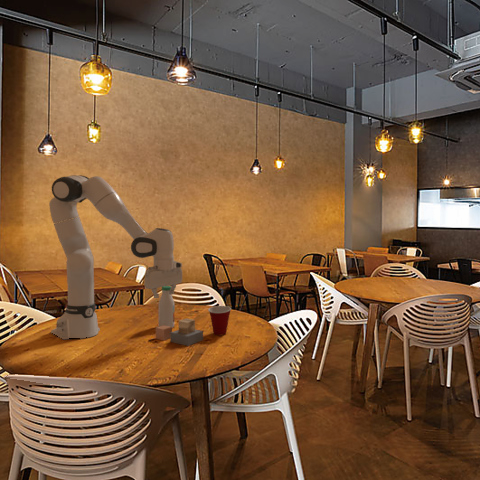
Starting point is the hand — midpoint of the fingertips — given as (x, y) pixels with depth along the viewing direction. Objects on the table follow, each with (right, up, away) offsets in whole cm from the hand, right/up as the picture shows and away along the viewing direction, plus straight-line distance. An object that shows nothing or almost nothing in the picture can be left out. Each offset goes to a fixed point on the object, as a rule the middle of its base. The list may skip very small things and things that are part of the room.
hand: (164, 296), depth 174 cm
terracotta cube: (0, -19, +1) cm, 19 cm away
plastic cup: (+24, -19, +9) cm, 32 cm away
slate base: (+10, -19, -3) cm, 22 cm away
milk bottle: (-3, -18, +19) cm, 27 cm away
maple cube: (+10, -15, -3) cm, 19 cm away
